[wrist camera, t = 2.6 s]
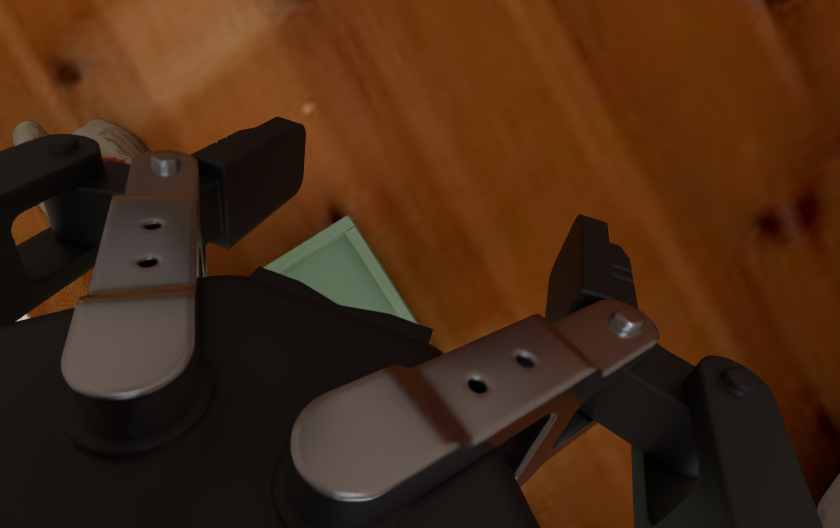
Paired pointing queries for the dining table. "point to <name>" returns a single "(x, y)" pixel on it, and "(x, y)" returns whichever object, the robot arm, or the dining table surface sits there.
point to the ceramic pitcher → (830, 506)
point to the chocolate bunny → (109, 136)
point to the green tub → (343, 270)
